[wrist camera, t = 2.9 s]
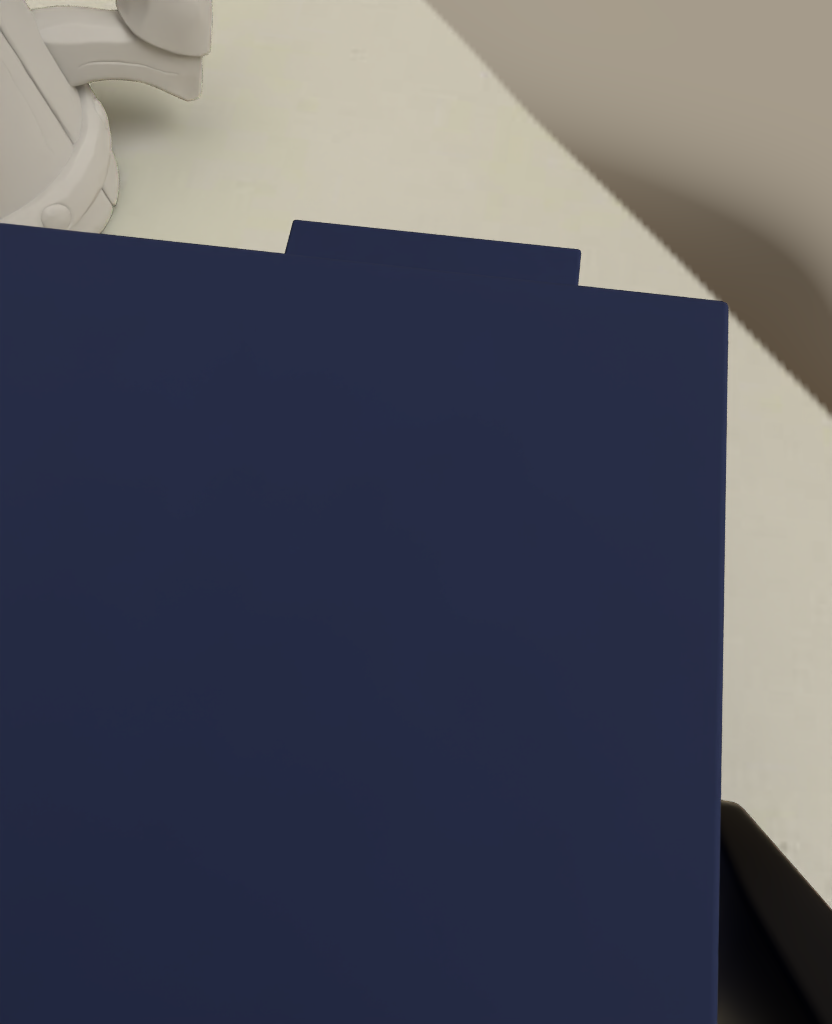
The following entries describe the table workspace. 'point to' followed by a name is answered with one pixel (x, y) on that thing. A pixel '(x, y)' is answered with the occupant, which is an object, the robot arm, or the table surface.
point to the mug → (83, 98)
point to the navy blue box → (356, 634)
